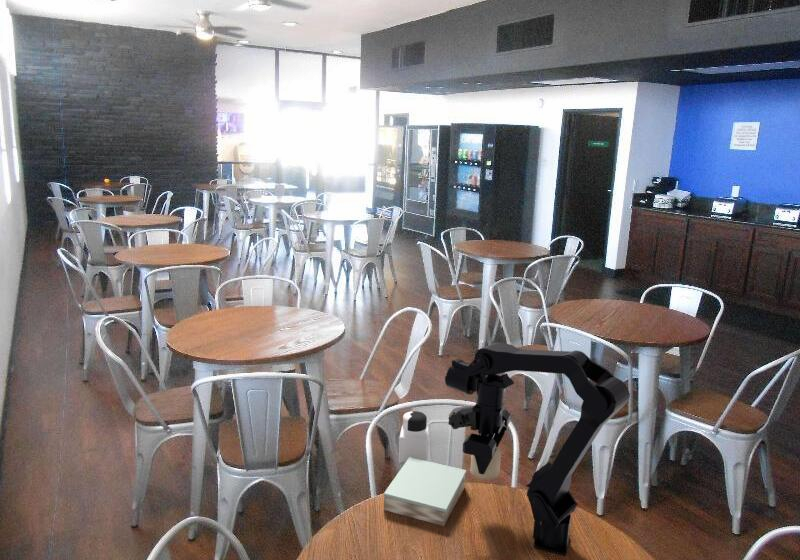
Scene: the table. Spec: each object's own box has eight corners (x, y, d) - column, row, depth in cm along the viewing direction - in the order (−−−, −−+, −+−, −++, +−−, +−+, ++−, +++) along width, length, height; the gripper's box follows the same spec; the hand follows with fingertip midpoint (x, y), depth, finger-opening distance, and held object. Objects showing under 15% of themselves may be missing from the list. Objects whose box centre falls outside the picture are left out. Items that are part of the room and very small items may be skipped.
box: (464, 487, 141) (465, 475, 140) (443, 526, 126) (444, 513, 125) (409, 473, 146) (410, 462, 145) (383, 509, 131) (384, 497, 130)
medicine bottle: (428, 451, 157) (429, 409, 154) (426, 465, 150) (428, 421, 147) (401, 449, 157) (402, 407, 155) (398, 463, 150) (399, 419, 148)
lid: (466, 473, 140) (466, 470, 139) (446, 512, 126) (446, 509, 125) (409, 459, 145) (409, 457, 145) (383, 496, 131) (383, 493, 131)
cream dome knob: (502, 467, 133) (503, 447, 132) (495, 482, 127) (497, 460, 126) (474, 461, 135) (475, 441, 134) (467, 475, 129) (468, 454, 128)
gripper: (465, 379, 139) (462, 439, 142) (440, 411, 122) (437, 479, 125) (512, 387, 135) (508, 449, 138) (493, 421, 118) (488, 491, 121)
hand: (485, 466), depth 131 cm, fingers closed on cream dome knob, 6 cm apart
